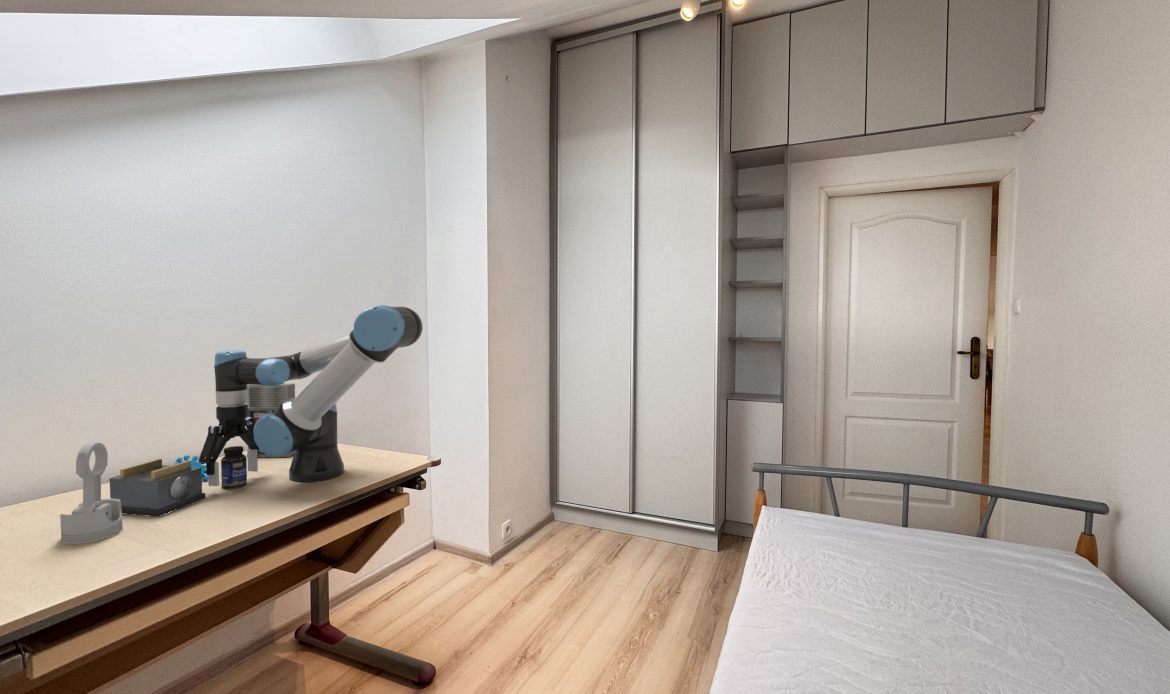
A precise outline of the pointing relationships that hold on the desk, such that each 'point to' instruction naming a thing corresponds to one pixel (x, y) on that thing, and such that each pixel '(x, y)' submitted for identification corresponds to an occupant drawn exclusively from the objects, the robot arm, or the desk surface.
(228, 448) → the pill bottle
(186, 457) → the blue spiky rounded piece
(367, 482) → the desk surface
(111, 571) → the desk surface
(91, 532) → the engine component
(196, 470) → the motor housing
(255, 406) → the grey cassette player
